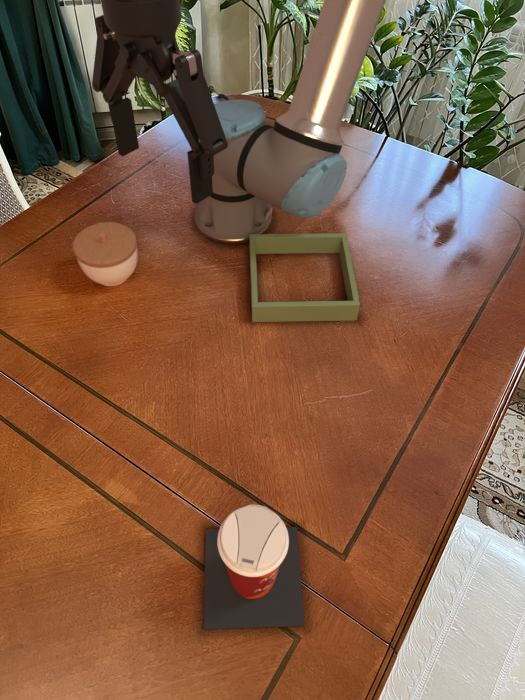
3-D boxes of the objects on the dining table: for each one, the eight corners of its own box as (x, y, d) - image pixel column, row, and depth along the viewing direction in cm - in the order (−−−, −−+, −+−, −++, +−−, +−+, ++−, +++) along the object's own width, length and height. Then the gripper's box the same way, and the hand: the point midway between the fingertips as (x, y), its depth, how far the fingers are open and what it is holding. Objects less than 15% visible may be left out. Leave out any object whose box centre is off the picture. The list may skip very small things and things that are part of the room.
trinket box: (152, 262, 106) (145, 222, 99) (125, 302, 100) (115, 262, 92) (101, 248, 108) (90, 208, 101) (71, 286, 102) (57, 247, 94)
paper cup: (277, 614, 69) (282, 580, 58) (215, 600, 69) (208, 564, 58) (288, 550, 73) (295, 507, 62) (230, 538, 74) (226, 493, 63)
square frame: (249, 250, 109) (249, 234, 105) (343, 249, 109) (346, 233, 106) (252, 322, 98) (252, 306, 94) (356, 320, 98) (360, 304, 95)
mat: (205, 530, 75) (205, 529, 75) (296, 528, 76) (297, 526, 75) (203, 630, 68) (203, 629, 68) (304, 626, 68) (304, 625, 68)
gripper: (27, -46, 57) (78, 145, 74) (200, 34, 47) (213, 235, 63) (89, -64, 60) (124, 122, 77) (262, 7, 50) (259, 204, 67)
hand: (164, 173), depth 70 cm, fingers open, 13 cm apart
